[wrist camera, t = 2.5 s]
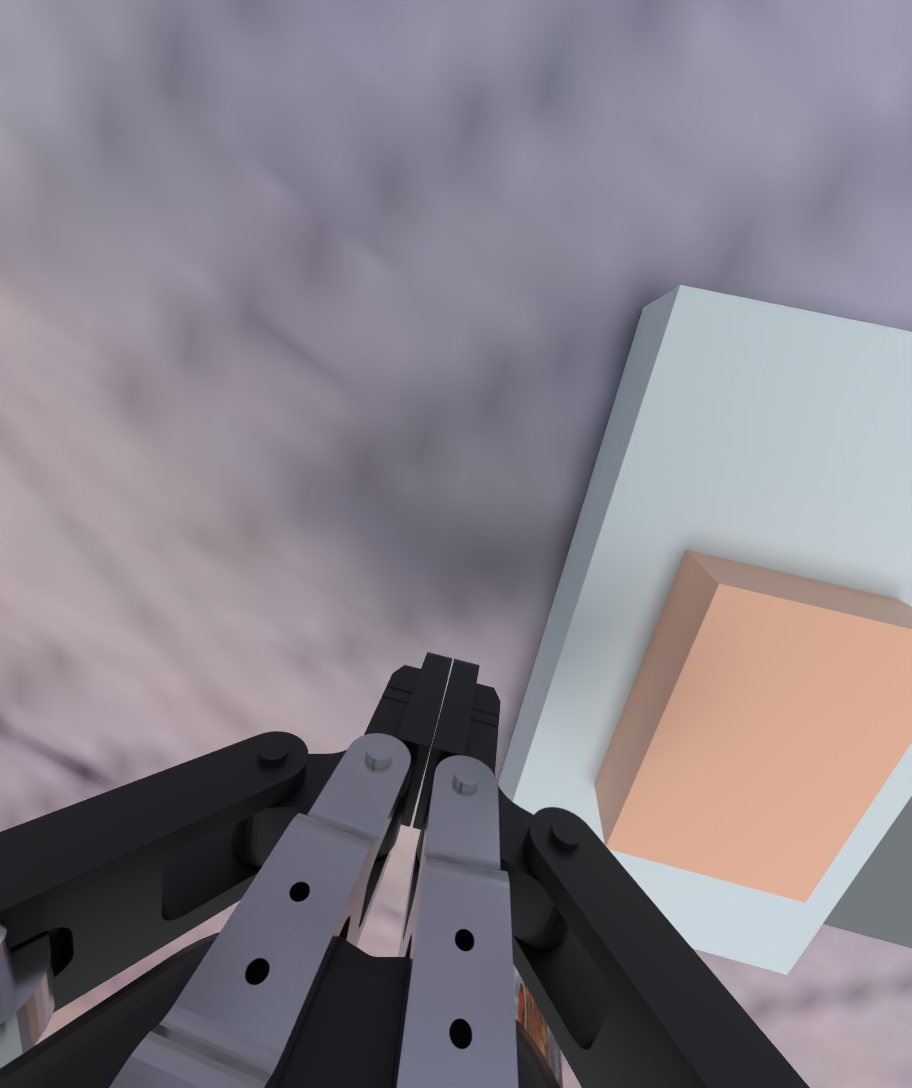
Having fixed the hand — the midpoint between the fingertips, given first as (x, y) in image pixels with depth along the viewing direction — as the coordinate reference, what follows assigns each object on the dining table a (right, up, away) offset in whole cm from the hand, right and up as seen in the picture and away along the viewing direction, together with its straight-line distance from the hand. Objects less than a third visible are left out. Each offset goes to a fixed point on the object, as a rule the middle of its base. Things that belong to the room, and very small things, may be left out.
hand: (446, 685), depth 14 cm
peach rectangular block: (+9, -1, +2) cm, 9 cm away
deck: (+10, 0, +6) cm, 11 cm away
